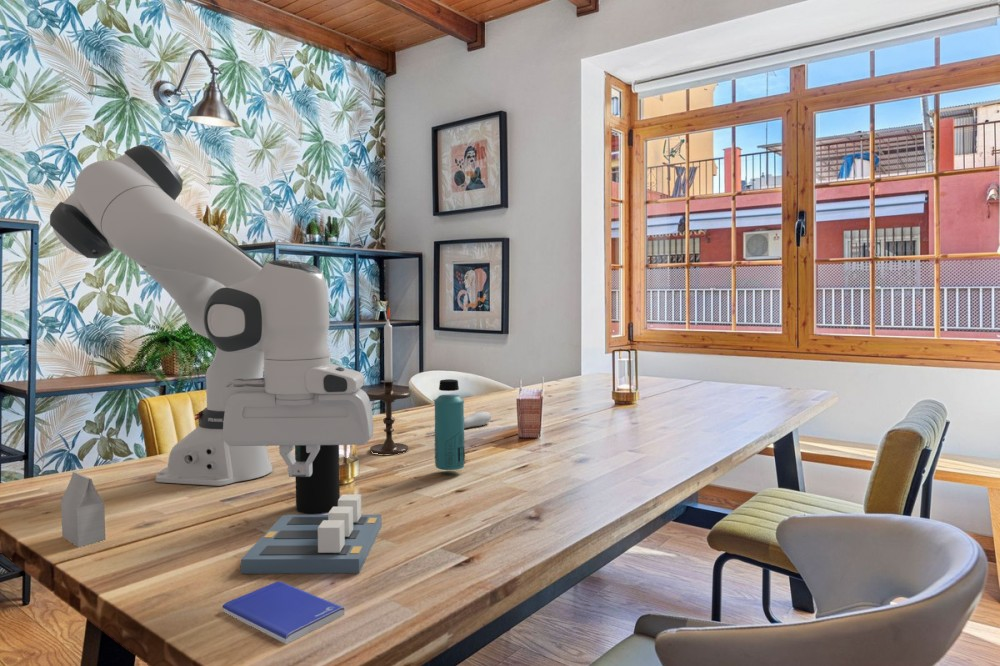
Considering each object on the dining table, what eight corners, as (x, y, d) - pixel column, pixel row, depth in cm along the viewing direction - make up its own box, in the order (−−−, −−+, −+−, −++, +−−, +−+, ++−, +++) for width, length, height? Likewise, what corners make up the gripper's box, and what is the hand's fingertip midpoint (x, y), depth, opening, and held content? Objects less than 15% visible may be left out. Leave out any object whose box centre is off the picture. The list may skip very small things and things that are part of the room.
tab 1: (338, 522, 102) (337, 500, 102) (342, 515, 105) (342, 494, 105) (357, 522, 102) (357, 500, 102) (361, 515, 105) (360, 494, 105)
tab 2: (328, 536, 96) (328, 513, 96) (333, 529, 99) (333, 506, 99) (348, 536, 96) (348, 513, 96) (353, 529, 99) (352, 506, 99)
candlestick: (384, 444, 166) (382, 306, 164) (420, 448, 161) (419, 306, 159) (357, 453, 156) (355, 306, 154) (394, 458, 152) (393, 307, 150)
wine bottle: (316, 516, 112) (314, 341, 110) (286, 509, 116) (283, 339, 114) (348, 504, 118) (346, 338, 116) (319, 497, 122) (316, 337, 120)
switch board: (241, 573, 89) (240, 558, 89) (283, 526, 107) (283, 514, 107) (359, 573, 89) (358, 558, 89) (381, 526, 107) (381, 513, 107)
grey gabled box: (78, 547, 98) (76, 482, 98) (62, 537, 102) (60, 474, 102) (105, 540, 101) (103, 476, 100) (88, 530, 105) (86, 469, 105)
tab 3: (318, 552, 90) (317, 527, 90) (323, 544, 93) (323, 520, 93) (339, 552, 90) (339, 527, 90) (344, 544, 93) (344, 520, 93)
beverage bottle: (460, 478, 135) (460, 382, 134) (430, 476, 137) (429, 381, 135) (468, 470, 142) (468, 378, 140) (439, 468, 143) (438, 377, 142)
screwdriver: (421, 442, 176) (418, 427, 176) (484, 424, 195) (481, 410, 195) (432, 441, 173) (429, 425, 173) (496, 422, 191) (493, 408, 192)
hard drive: (344, 605, 78) (280, 579, 85) (286, 634, 71) (222, 603, 78) (344, 618, 78) (281, 591, 85) (286, 648, 71) (222, 616, 78)
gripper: (212, 381, 87) (216, 483, 88) (366, 380, 88) (368, 481, 89) (231, 375, 94) (234, 470, 95) (374, 374, 94) (376, 468, 95)
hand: (300, 475), depth 92 cm, fingers closed
